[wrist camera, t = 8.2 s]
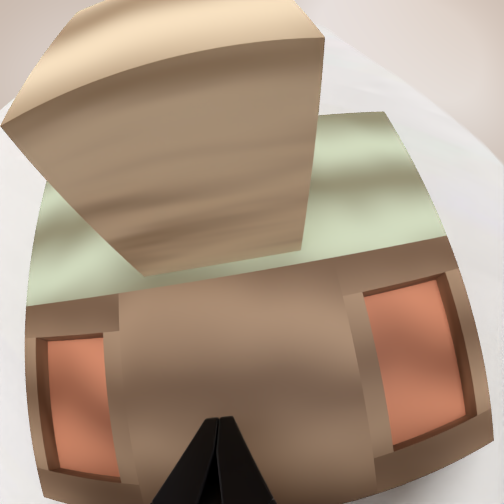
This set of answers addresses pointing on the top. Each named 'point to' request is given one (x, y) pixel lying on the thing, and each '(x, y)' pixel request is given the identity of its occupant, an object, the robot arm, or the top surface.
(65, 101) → the birch block
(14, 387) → the top surface
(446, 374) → the lane board
